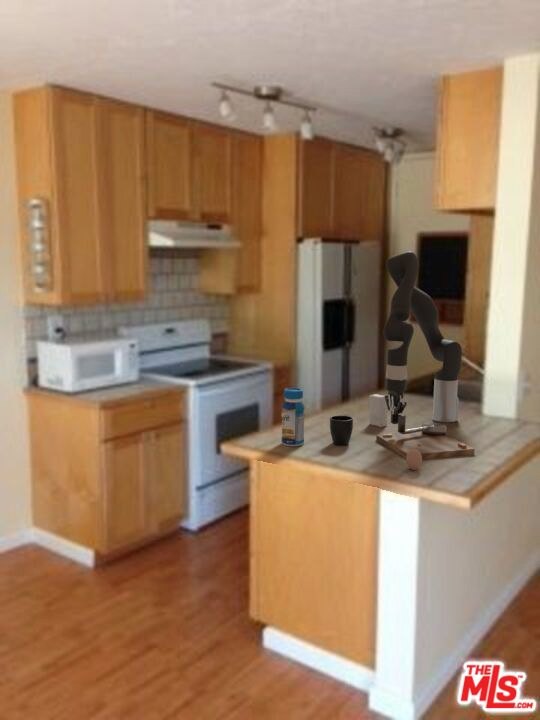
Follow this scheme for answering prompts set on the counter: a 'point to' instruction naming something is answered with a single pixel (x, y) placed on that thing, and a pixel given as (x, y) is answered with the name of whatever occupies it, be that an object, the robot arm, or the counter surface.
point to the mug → (341, 429)
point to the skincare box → (377, 410)
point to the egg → (413, 459)
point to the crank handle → (426, 427)
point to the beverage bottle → (293, 417)
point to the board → (425, 445)
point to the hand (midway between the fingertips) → (394, 423)
